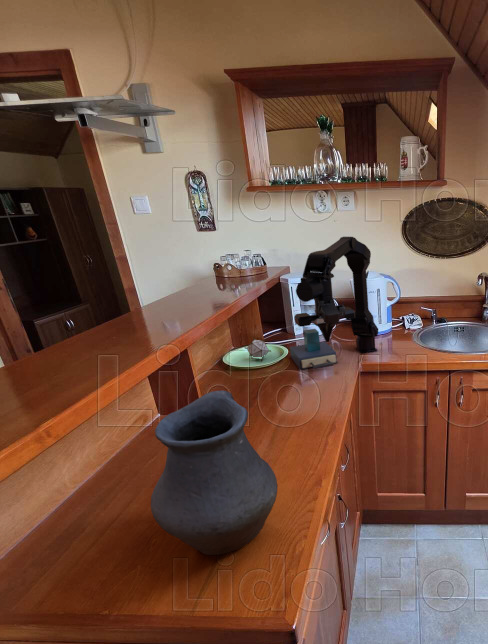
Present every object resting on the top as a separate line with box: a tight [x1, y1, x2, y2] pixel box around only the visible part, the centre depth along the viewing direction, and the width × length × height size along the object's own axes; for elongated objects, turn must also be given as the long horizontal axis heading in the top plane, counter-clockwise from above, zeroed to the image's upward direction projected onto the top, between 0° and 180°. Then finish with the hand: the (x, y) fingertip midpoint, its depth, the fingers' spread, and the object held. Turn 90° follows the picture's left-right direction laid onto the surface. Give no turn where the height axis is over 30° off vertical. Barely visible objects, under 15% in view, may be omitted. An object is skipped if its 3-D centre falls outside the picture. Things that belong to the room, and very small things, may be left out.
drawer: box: [301, 354, 337, 370], centre depth 153 cm, size 17×12×3 cm
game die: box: [244, 337, 272, 362], centre depth 158 cm, size 9×8×10 cm
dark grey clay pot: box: [150, 389, 279, 556], centre depth 72 cm, size 21×22×25 cm
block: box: [302, 328, 321, 352], centre depth 154 cm, size 4×4×7 cm
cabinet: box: [289, 341, 338, 370], centre depth 156 cm, size 14×14×4 cm
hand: (327, 341), depth 138 cm, fingers closed
